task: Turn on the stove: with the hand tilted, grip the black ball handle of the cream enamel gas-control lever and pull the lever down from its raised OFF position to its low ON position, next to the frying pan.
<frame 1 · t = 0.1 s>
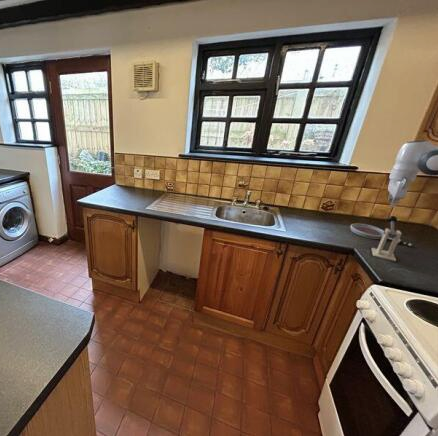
hand: (391, 203, 120), 25 cm above the countertop, tool pointing down, fingers open, 8 cm apart
white stand: (382, 255, 121), on the countertop
stove lever: (392, 226, 120), point 14 cm above the countertop, hinge at 25.0°
frying pan: (378, 237, 142), on the countertop
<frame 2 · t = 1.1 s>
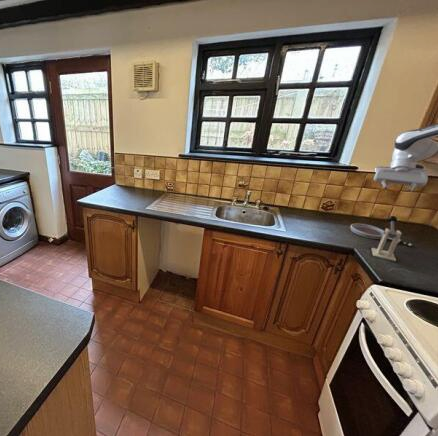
hand: (397, 189, 127), 30 cm above the countertop, tool tilted 45°, fingers open, 8 cm apart
nothing on the countertop moved.
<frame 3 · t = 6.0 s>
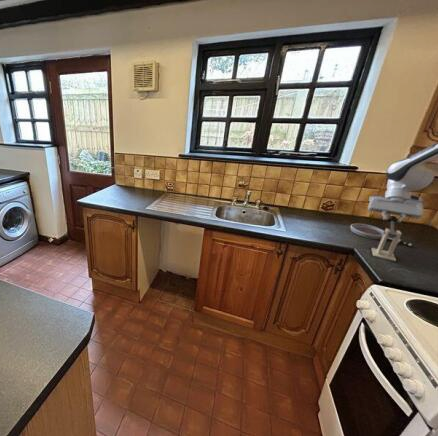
hand: (392, 220, 123), 16 cm above the countertop, tool tilted 45°, fingers closed on stove lever, 3 cm apart
stove lever: (392, 226, 120), point 14 cm above the countertop, hinge at 25.0°, touching gripper
everything else where it was.
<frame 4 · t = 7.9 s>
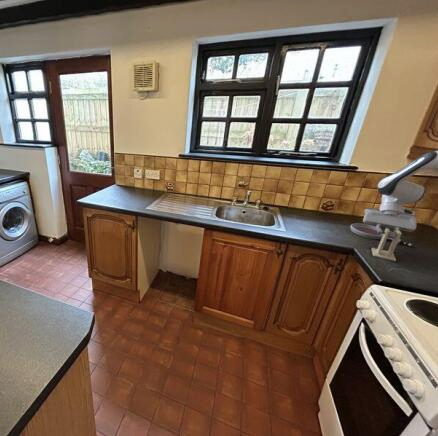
hand: (386, 234, 126), 8 cm above the countertop, tool tilted 45°, fingers closed on stove lever, 3 cm apart
stove lever: (389, 233, 122), point 11 cm above the countertop, hinge at -13.8°, touching gripper
everything else where it was.
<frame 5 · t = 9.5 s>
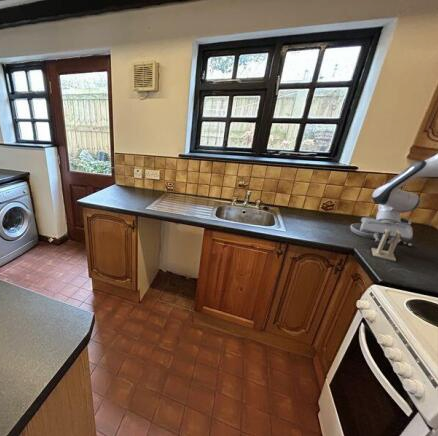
hand: (382, 242, 127), 4 cm above the countertop, tool tilted 45°, fingers closed on stove lever, 3 cm apart
stove lever: (388, 236, 122), point 9 cm above the countertop, hinge at -31.7°, touching gripper
everything else where it was.
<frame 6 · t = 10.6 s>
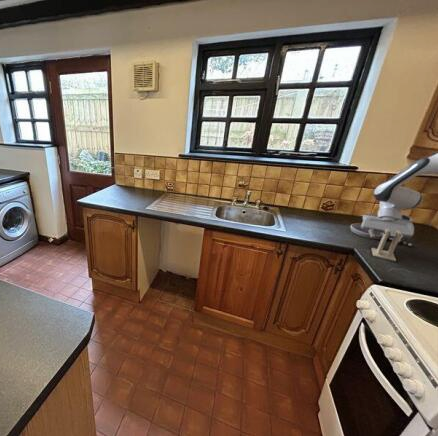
hand: (384, 240, 127), 5 cm above the countertop, tool tilted 45°, fingers open, 8 cm apart
stove lever: (388, 236, 122), point 9 cm above the countertop, hinge at -30.5°
everything else where it was.
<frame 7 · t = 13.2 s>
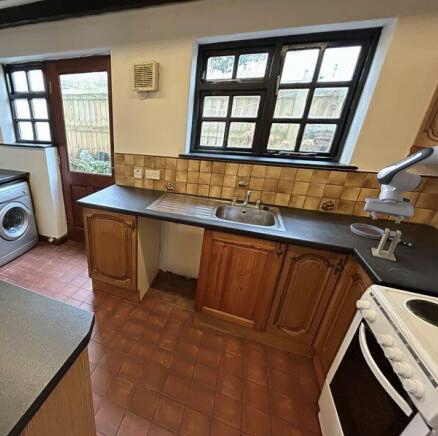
hand: (385, 221, 134), 12 cm above the countertop, tool tilted 45°, fingers open, 8 cm apart
nothing on the countertop moved.
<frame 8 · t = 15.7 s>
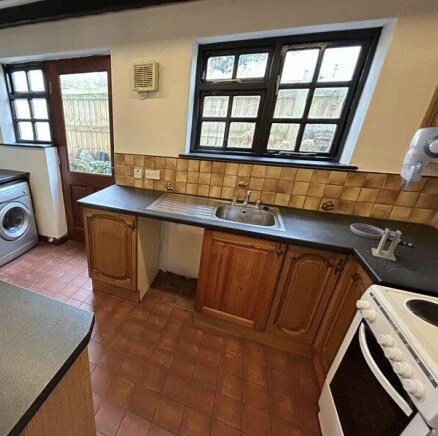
hand: (404, 188, 125), 31 cm above the countertop, tool pointing down, fingers open, 8 cm apart
nothing on the countertop moved.
at the end: stove lever at -30° (first picture: +25°); frying pan moved 0.3 cm from its start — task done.
